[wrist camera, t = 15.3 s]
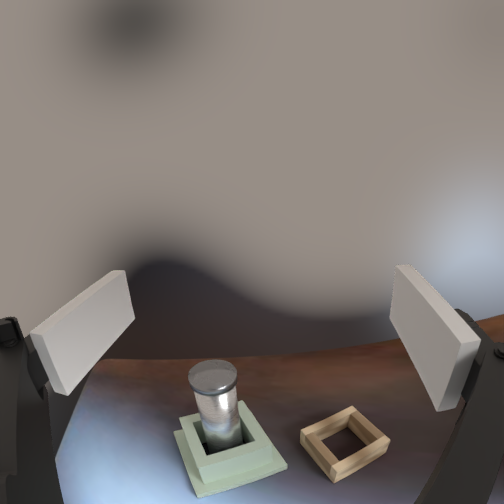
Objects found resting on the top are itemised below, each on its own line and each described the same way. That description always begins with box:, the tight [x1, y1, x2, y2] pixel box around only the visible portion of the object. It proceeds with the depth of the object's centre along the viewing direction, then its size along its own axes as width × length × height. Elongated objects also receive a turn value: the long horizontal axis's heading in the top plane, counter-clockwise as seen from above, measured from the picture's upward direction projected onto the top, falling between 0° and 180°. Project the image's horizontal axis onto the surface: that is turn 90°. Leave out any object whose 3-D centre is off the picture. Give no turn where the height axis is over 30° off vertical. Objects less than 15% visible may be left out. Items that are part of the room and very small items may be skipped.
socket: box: [173, 400, 287, 498], centre depth 35 cm, size 12×12×5 cm
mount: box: [300, 406, 390, 483], centre depth 34 cm, size 9×9×3 cm
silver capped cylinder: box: [188, 360, 243, 455], centre depth 33 cm, size 5×5×15 cm
